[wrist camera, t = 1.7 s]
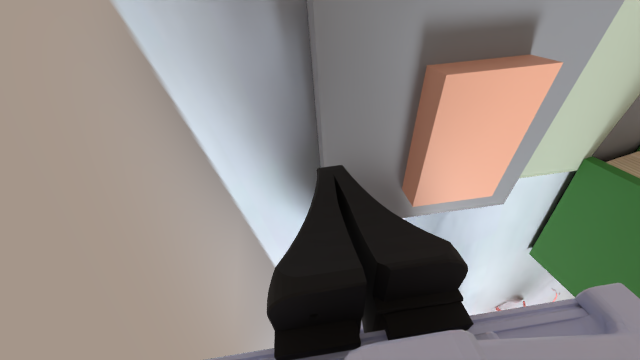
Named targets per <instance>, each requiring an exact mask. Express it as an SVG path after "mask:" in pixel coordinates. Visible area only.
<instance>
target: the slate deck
mask: <svg viewBox="0 0 640 360" xmlns="http://www.w3.org/2000/svg"><path fill="white" fill-rule="evenodd" d="M306 1H307V13H308V25H309V37H310V49H311V61H312V74H313V86H314V98H315V110H316V122H317V134H318V146H319V158H320V168H321V167H329V166H337V165H343V166H344V167H345V169H346V170H347V171H348V172H349V174H350V175H351V176H352V177H353V178H354V179H355V180H356V181H357V182H358V183H359V184H360V185H361V187H362V188H363V189H364V190H366V191H367V192H368V193H369V194H370V195H371V196H372V197H373V198H374V199H376V200H377V201H378V202H379V203H380V204H382V205H383V206H384V207H386V208H387V209H388V210H390V211H391V212H393V213H394V214H396V215H397V216H399V217H401V218H407V217H414V216H421V215H428V214H435V213H442V212H450V211H457V210H464V209H471V208H478V207H486V206H493V205H500V204H504V202H505V201H506V199H507V197H508V196H509V194H510V192H511V191H512V189H513V187H514V186H515V184H516V182H517V181H518V179H519V177H520V175H521V174H522V172H523V170H524V169H525V167H526V165H527V164H528V162H529V160H530V159H531V157H532V155H533V154H534V152H535V150H536V149H537V147H538V145H539V144H540V142H541V140H542V139H543V137H544V135H545V133H546V132H547V130H548V128H549V127H550V125H551V123H552V122H553V120H554V118H555V117H556V115H557V113H558V112H559V110H560V108H561V107H562V105H563V103H564V102H565V100H566V98H567V96H568V95H569V93H570V91H571V90H572V88H573V86H574V85H575V83H576V81H577V80H578V78H579V76H580V75H581V73H582V71H583V70H584V68H585V66H586V65H587V63H588V61H589V60H590V58H591V56H592V54H593V53H594V51H595V49H596V48H597V46H598V44H599V43H600V41H601V39H602V38H603V36H604V34H605V33H606V31H607V29H608V28H609V26H610V24H611V23H612V21H613V19H614V18H615V16H616V14H617V12H618V11H619V9H620V7H621V6H622V4H623V2H624V1H625V0H306ZM530 54H531V55H535V56H539V57H543V58H547V59H551V60H556V61H560V62H564V63H563V64H562V66H561V68H560V70H559V72H558V74H557V76H556V77H555V79H554V81H553V83H552V85H551V87H550V89H549V91H548V92H547V94H546V96H545V98H544V100H543V102H542V104H541V105H540V107H539V109H538V111H537V113H536V115H535V117H534V119H533V120H532V122H531V124H530V126H529V128H528V130H527V132H526V133H525V135H524V137H523V139H522V141H521V143H520V145H519V147H518V148H517V150H516V152H515V154H514V156H513V158H512V160H511V161H510V163H509V165H508V167H507V169H506V171H505V173H504V175H503V176H502V178H501V180H500V182H499V184H498V186H497V188H496V189H495V191H494V193H493V195H492V196H490V197H482V198H475V199H468V200H460V201H453V202H446V203H438V204H431V205H424V206H417V207H412V205H411V203H410V202H409V200H408V198H407V197H406V195H405V194H404V192H403V190H402V186H403V181H404V176H405V171H406V166H407V161H408V156H409V151H410V146H411V141H412V136H413V131H414V126H415V121H416V116H417V111H418V106H419V101H420V97H421V92H422V87H423V82H424V77H425V72H426V67H427V65H435V64H444V63H454V62H463V61H473V60H482V59H492V58H501V57H511V56H520V55H530Z"/></svg>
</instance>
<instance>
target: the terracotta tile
mask: <svg viewBox="0 0 640 360" xmlns="http://www.w3.org/2000/svg"><path fill="white" fill-rule="evenodd" d="M563 63H564V62H560V61H556V60H551V59H547V58H543V57H539V56H535V55H531V54H530V55H520V56H511V57H501V58H492V59H482V60H473V61H463V62H454V63H444V64H435V65H427V67H426V72H425V77H424V82H423V87H422V92H421V97H420V101H419V106H418V111H417V116H416V121H415V126H414V131H413V136H412V141H411V146H410V151H409V156H408V161H407V166H406V171H405V176H404V181H403V186H402V190H403V192H404V194H405V195H406V197H407V198H408V200H409V202H410V203H411V205H412V207H417V206H424V205H431V204H438V203H446V202H453V201H460V200H468V199H475V198H482V197H490V196H492V195H493V193H494V191H495V189H496V188H497V186H498V184H499V182H500V180H501V178H502V176H503V175H504V173H505V171H506V169H507V167H508V165H509V163H510V161H511V160H512V158H513V156H514V154H515V152H516V150H517V148H518V147H519V145H520V143H521V141H522V139H523V137H524V135H525V133H526V132H527V130H528V128H529V126H530V124H531V122H532V120H533V119H534V117H535V115H536V113H537V111H538V109H539V107H540V105H541V104H542V102H543V100H544V98H545V96H546V94H547V92H548V91H549V89H550V87H551V85H552V83H553V81H554V79H555V77H556V76H557V74H558V72H559V70H560V68H561V66H562V64H563Z"/></svg>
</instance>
